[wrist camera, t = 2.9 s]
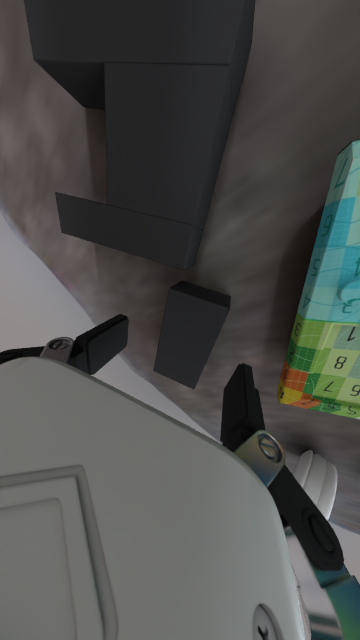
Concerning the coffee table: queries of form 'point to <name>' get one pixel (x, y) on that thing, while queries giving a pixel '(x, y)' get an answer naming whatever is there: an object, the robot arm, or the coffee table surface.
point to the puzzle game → (330, 305)
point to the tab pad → (189, 331)
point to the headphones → (317, 487)
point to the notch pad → (148, 110)
